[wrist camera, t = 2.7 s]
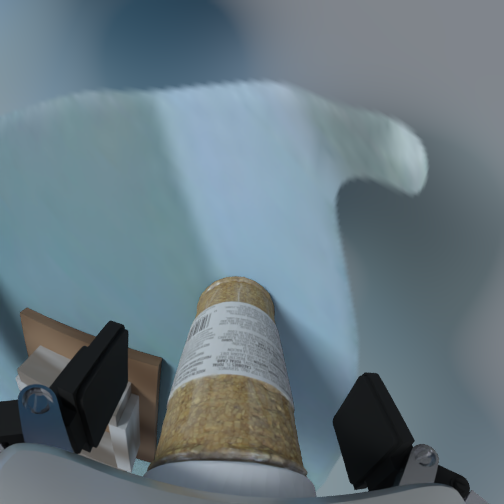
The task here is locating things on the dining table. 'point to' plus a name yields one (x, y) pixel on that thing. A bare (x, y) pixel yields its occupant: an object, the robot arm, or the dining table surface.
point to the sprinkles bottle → (232, 402)
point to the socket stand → (130, 405)
